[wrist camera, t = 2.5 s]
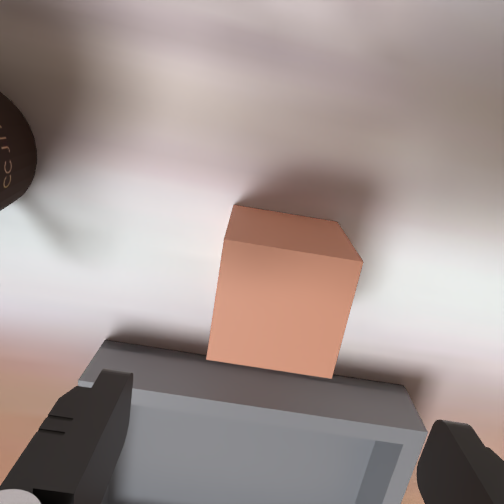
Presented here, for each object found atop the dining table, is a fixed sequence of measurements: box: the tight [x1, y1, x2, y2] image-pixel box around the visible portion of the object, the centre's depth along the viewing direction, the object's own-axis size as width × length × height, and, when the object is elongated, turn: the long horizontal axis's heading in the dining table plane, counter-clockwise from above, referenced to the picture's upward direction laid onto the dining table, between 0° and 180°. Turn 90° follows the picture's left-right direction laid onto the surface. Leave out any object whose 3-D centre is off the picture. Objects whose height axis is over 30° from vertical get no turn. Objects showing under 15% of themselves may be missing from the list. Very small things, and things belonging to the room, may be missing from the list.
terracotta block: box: [206, 205, 363, 379], centre depth 20 cm, size 6×6×6 cm
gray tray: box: [78, 340, 428, 504], centre depth 25 cm, size 18×13×4 cm
